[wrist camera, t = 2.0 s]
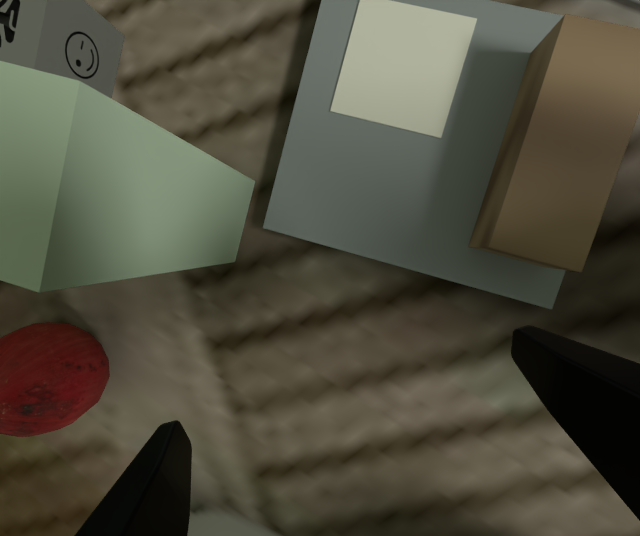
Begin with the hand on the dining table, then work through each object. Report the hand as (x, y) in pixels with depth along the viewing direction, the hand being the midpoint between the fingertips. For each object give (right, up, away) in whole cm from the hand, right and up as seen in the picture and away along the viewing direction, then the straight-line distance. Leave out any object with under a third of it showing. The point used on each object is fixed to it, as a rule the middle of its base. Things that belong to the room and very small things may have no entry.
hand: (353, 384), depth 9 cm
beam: (+10, +8, +9) cm, 16 cm away
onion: (-15, -3, +14) cm, 21 cm away
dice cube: (-16, +15, +13) cm, 25 cm away
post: (-8, +6, +12) cm, 16 cm away
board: (+6, +10, +10) cm, 15 cm away
